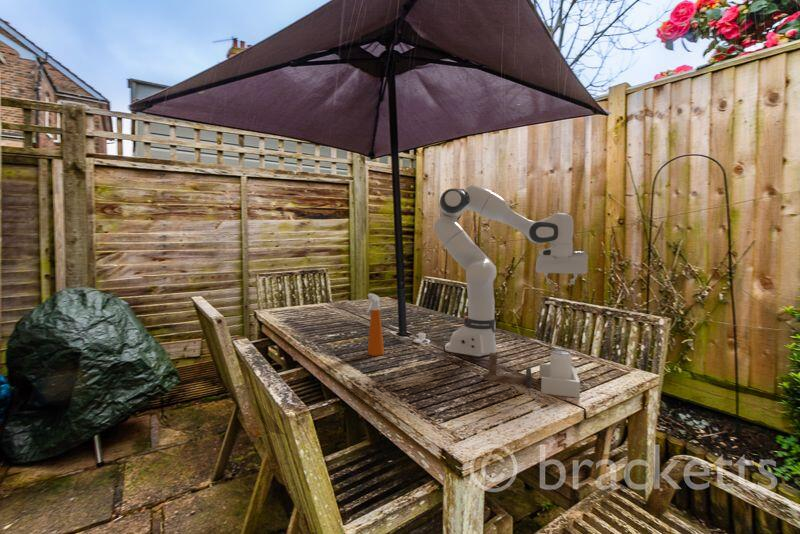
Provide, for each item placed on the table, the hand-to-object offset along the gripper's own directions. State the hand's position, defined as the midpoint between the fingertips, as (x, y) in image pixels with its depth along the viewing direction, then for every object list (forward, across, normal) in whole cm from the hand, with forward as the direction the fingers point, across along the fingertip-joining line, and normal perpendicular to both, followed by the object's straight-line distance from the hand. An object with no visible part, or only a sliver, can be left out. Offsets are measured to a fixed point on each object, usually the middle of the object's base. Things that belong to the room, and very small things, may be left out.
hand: (560, 283), depth 158 cm
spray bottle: (+29, +74, +30) cm, 85 cm away
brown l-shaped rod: (+29, +20, +42) cm, 55 cm away
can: (+29, +3, +42) cm, 51 cm away
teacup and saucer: (+30, +63, +5) cm, 70 cm away
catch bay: (+29, +4, +42) cm, 51 cm away
